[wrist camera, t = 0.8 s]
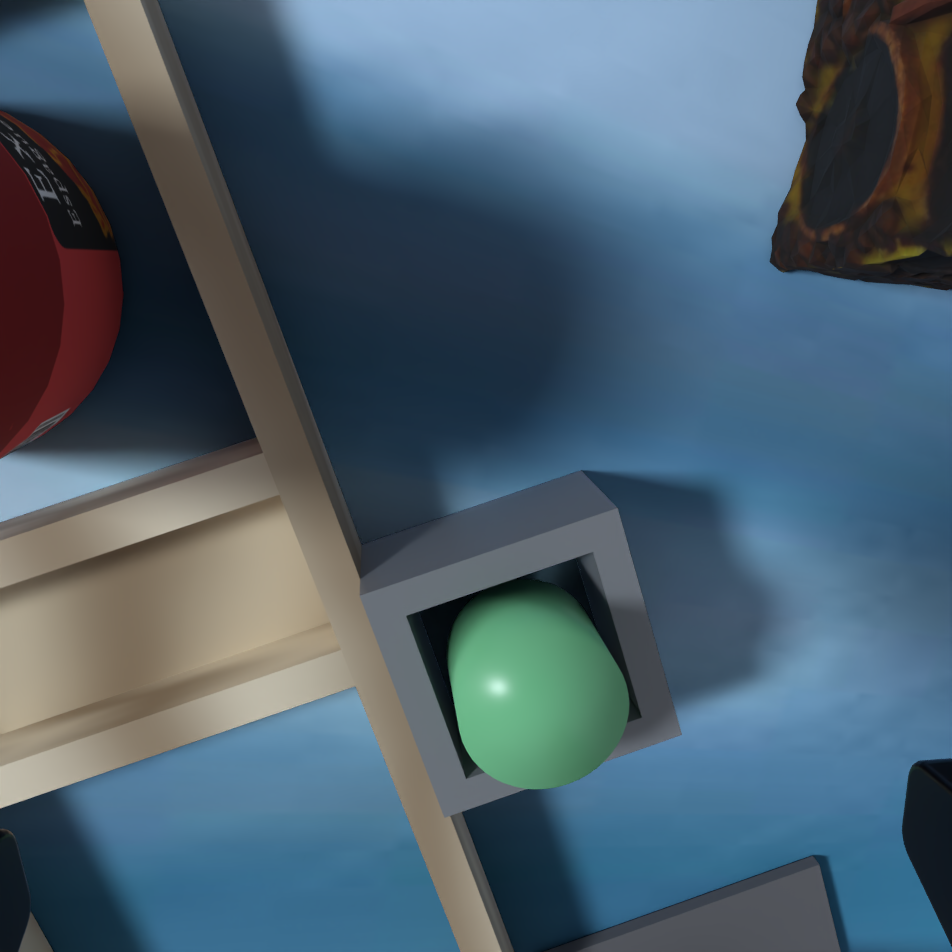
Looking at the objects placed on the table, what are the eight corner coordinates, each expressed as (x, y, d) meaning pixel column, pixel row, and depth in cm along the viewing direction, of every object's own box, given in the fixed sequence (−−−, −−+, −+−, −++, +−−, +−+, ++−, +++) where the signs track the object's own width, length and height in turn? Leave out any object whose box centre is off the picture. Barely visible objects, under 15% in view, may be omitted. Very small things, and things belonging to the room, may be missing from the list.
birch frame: (109, 1121, 26) (82, 1210, 23) (-494, 73, 18) (-629, 45, 15) (522, 973, 26) (537, 1046, 24) (114, -116, 18) (74, -172, 16)
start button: (472, 736, 21) (488, 812, 18) (426, 608, 20) (435, 666, 17) (611, 688, 21) (647, 755, 19) (571, 558, 20) (604, 608, 18)
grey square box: (434, 739, 24) (444, 817, 21) (361, 545, 22) (359, 595, 19) (639, 668, 24) (681, 734, 21) (581, 470, 23) (617, 508, 19)
